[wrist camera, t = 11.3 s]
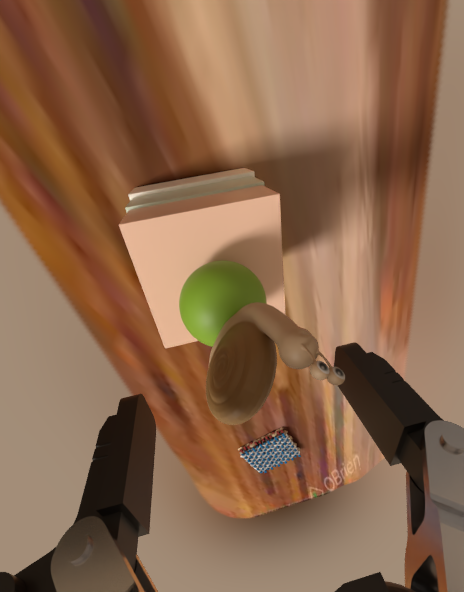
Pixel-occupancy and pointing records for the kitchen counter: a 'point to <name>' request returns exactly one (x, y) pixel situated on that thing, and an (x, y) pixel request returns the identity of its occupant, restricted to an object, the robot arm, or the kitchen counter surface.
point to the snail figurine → (244, 339)
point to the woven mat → (270, 450)
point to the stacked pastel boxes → (202, 238)
